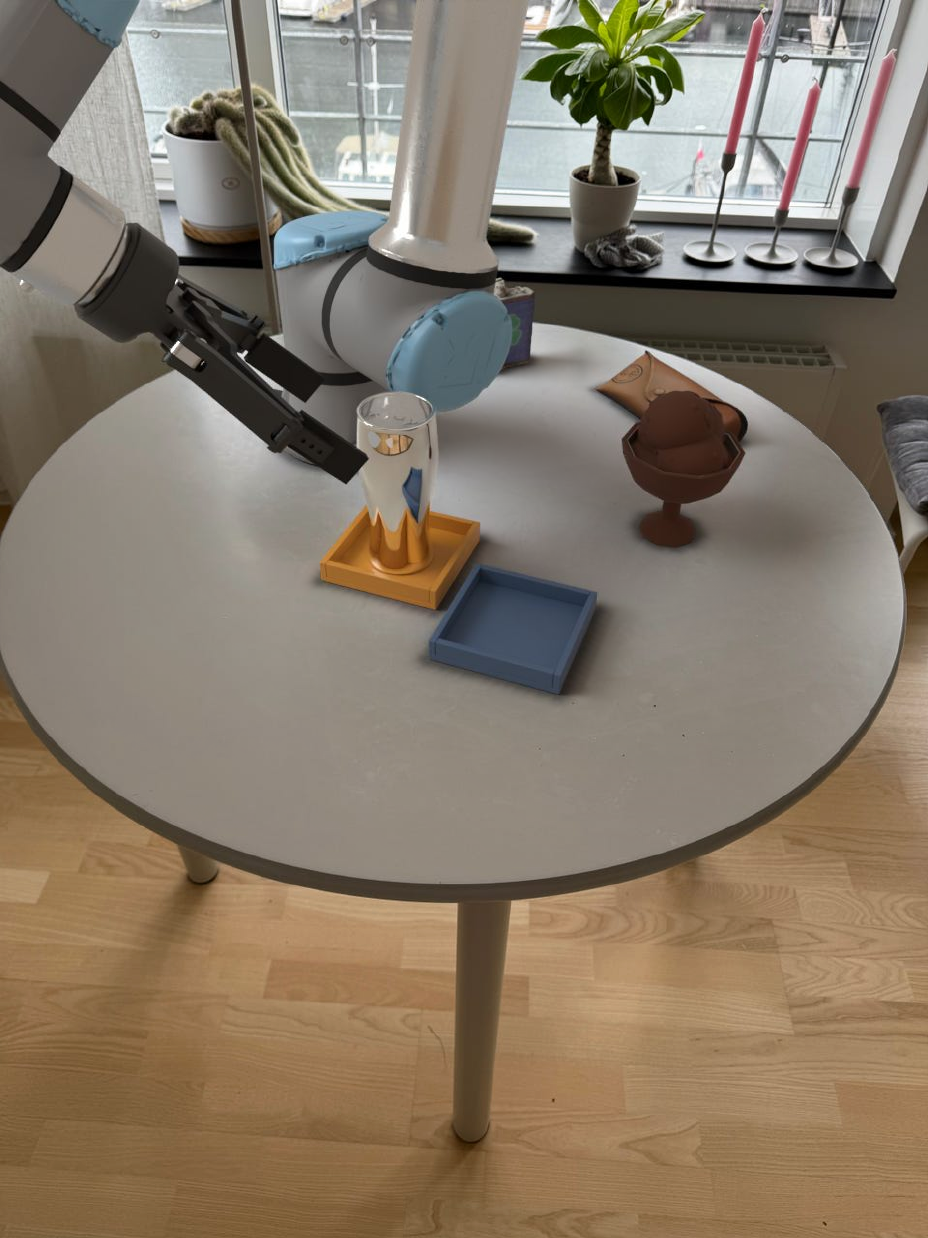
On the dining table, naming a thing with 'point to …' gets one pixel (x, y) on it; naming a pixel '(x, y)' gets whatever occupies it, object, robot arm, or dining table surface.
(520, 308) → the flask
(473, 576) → the blue tray
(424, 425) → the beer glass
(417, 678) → the dining table surface
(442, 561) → the amber tray
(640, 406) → the sunglasses case
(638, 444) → the ice cream bowl
